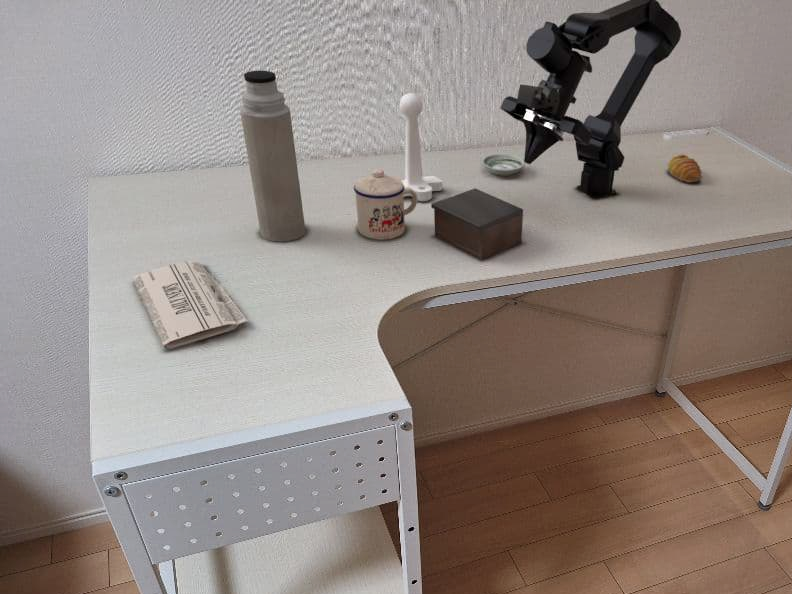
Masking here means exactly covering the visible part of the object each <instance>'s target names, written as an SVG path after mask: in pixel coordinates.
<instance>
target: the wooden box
mask: <svg viewBox="0 0 792 594" xmlns="http://www.w3.org/2000/svg"><path fill="white" fill-rule="evenodd" d="M433 214H434V215H433V216H434V218H433V219H434V220H433V221H434V238H436V239H438V240H441V241H443V242H445V243H446V244H448V245H451V246H452V247H454V248H456V249H458V250H461V251H462V252H465V253H466V254H468V255H470V256H473V257H474V258H476V259H478V260H480V261H483V260H486V259H488V258H490V257H493V256H495V255H497V254H500V253H502V252H504V251H506V250H509V249H511V248H513V247H516V246H519V245H521V244H522V240H523V220H524V212H523V213H522V214H519V215H517V216H514V217H512V218H509V219H507V220H504V221H502V222H500V223H497V224H495V225H492V226H490V227H487V228H485V229H482V230H477V229H475V228H473V227H471V226H469V225H467V224H465V223H463V222H461V221H458V220H456V219H454V218H452V217H450V216H448V215H446V214H444V213H442V212H440V211H437V210H435V209H433Z"/></svg>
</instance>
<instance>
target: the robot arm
mask: <svg viewBox="0 0 792 594" xmlns="http://www.w3.org/2000/svg"><path fill="white" fill-rule="evenodd" d="M630 29H634V30H635V32H636V33H635V35H634V52H633V54H632V56H631V58H630V60H629V61H628V63H627V65H626V67H625V69H624V70H623V72H622V74H621V76H620V77H619V79H618V81H617V83H616V85H615V86H614V88H613V90H612V92H611V94H610V95H609V98H608V99H607V100H606V102H605V104H604V106H603V108H602V110H601V112H600V113H599V114H597V115H595V116H594V115H591V114H589V115H587V117H586V118H585V120H584V122H582V121H581V120H580V119H577V118H574V117H571V116H568V115H566V113H567V112H568V109H569V107H570V105H571V104H573V105H575V104H576V102H577V97H575V94H576V91H577V89H578V87H579V84H580V82H581V80H582V78H583V76H584V73H585V72H586V73H589V74H591V73H592V72H593V66H592V62H591V57H590V56H587V55H584V54H581V53H580V52H579V51H581V52H585V53H588V54H593V55H594V54H597V53H598V52H599V53H600V51H602V50H603V49H605V48H606V47H607V46H608V45H609V43H610V39H611V38H613V37H614V36H617V35H619V34H621V33H624V32H626V31H628V30H630ZM681 37H682V30H681V28H680V24H679V22H678V20H676V19H675V17H674V16H673V15H672V14H670V13H669V12H668V11H667V10H665V9H664V8H663V7H662V6H661V4H660V2H659V1H658V0H627V1H625V2H622V3H619V4H617V5H615V6H612V7H610V8H607V9H605V10H602V11H599V12H576V13H571V14H570V15H569V16H568V17H567V18H566V20H565V22H563V23H561V24H559V25H557V24H556V23H554V22H551V21H547V20H546V21H545V22H544V25H543V26H542V27H540V28H538V29H536V30H535V31H534V32H533V33H532V34H531V35H529V37H528V39H527V42H526V45H525V50H526V54H527V55H528V57H529V58H530V59H532V60H533V61H534V62H535V63H536V64H537V65H538V66H539V67H541V68H542V69H543V70H544V71H545V72H547V74H548V73H549V74H548V77H547V78H546V79H541V80H540V81H539V83H538V85H537V86H535V85H529V84H519V87H518V91H517V98H516V97H514V96H511V95H508V96H506V97H504V98H503V100H502V103H501V105H500V107H499V108H500V109H501V110H502V111H503V112H505V113H506V114H508V115H509V116H510V117H512V118H513V119H515V120H517V121H519V122H521V123H522V124H523V125H524V128H525V147H524V149H525V150H524V157H523V161H524V162H525V164H527V165H531V164H532V163H533V162H534V161H536V160H537V159H538V158H539V157H540V156H541V155H542V154H544V153H545V152H546V151H547V150H549V149H550V148H551V147H552V146H554V145H556V144H557V143H559V141H560V142H563V141H564V138H563V135H564V133H567V134H569V135H572V136H573V139H574V142H575V149H576V157H577V161H579V162H583V167H582V171H581V174H580V184H579V185H576V189H577V190H578V191H580V192H582V193H583V194H585V195H587V196H588V197H590V198H592V199H599V198H604V197H609V196H614V195H617V190H615V189H613V187H614V180H615V172H617V171H619V170H620V168H622V167H623V164H624V162H625V161H624V160H625V155H624V154H623V152H622V150H621V149H620V147H619V146H620V144H621V142H622V135H621V134H622V132H621V131H622V130H621V127H622V124H623V123H624V121H625V120H626V118H627V116H628V114H629V113H630V111H631V109H632V107H633V105H634V104H635V102H636V100H637V98H638V96H639V95H640V93H641V91H642V89H643V87H644V85H646V82H647V81H648V79H649V77H650V75H651V73H652V72H653V70H654V68H655V66H657V65H658V64H659V63H661V62H662V61H664V60H665V59H667V58H669V56H670V55H671V54H672V52H673V51H674V50H675V48H676V47H677V45H678V44H679V42H680V40H681ZM573 49H574V50H573Z"/></svg>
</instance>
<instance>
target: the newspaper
mask: <svg viewBox="0 0 792 594" xmlns="http://www.w3.org/2000/svg"><path fill="white" fill-rule="evenodd" d="M132 281H133V283H134V285H135V288H136V290H137V292H138V294H139V296H140V298H141V301H142V303H143V305H144V308H145V309H146V311H147V313H148V316H149V318H150V320H151V323H152V324H153V327H154V329H155V331H156V334H157V336H158V338H159V340H160V342H161V345H162V347H163V349H165V350H171V349H174V348H178V347H182V346H185V345H189V344H191V343H194V342H198V341H201V340H205V339H207V338H210V337H215V336H217V335H221V334H223V333H226V332H230V331H235V329H237V328H238V325H241V324H242V323H245V322H248V319H247V318H246V316H245V315H244V314H243V312H242V311H241V310H240V309H239V307H237V305H236V304H235V302H234V301H233V300H232V299H231V298H230V296H229V295H228V294H227V292H226V291H225V290H224V289H223V288H222V287H221V285H220V284H219V283H218V282H217V281H216V280H215V278H213V276H212V275H211V274H210V273H209V271H207V270H206V269H205V267H204V266H202V263H201V262H200V261H197V260H193V259H189V260H185V261H181V262H176V263H172V264H168V265H164V266H161V267H158V268H154V269H151V270H147V271H145V272H141V273H138V274H136V275H134V276H133V277H132Z"/></svg>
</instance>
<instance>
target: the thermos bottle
mask: <svg viewBox="0 0 792 594" xmlns="http://www.w3.org/2000/svg"><path fill="white" fill-rule="evenodd" d="M243 78H244V80H245V88H246V91H244V92H243V93H242V95H241V96H242V97H241V98H242V100H241V103H242V106H241V107H240V109H239V113H240V118H241V119H240V120H241V124H242V125H241V126H242V130H243V137H244V142H245V148H246V154H247V160H248V166H249V172H250V178H251V184H252V190H253V191H252V192H253V197H254V203H255V207H256V208H255V209H256V213H257V219H258V225H259V232H260V236H261V237H262V238H263V239H266V240H268V241H272V242H289V241H295V240H297V239H300V238H301V237H303V236H304V235H305V233H306V223H305V215H304V211H303V210H304V209H303V200H302V193H301V184H300V178H299V170H298V169H299V168H298V161H297V155H296V146H295V139H294V131H293V122H292V115H291V109H290V107H289V105H287V104H286V98H285V96H284V93H283V92H281V91H280V90H278V84H277V81H276V79H277V75H276V73H275V72H273V71H269V70H250V71H246V72H245V73H244V74H243Z"/></svg>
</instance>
